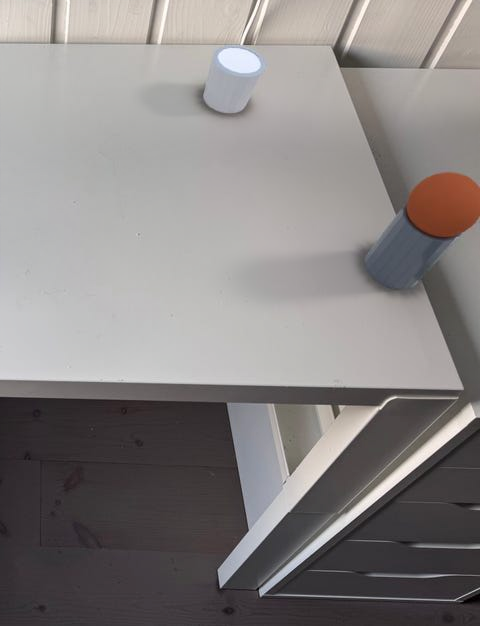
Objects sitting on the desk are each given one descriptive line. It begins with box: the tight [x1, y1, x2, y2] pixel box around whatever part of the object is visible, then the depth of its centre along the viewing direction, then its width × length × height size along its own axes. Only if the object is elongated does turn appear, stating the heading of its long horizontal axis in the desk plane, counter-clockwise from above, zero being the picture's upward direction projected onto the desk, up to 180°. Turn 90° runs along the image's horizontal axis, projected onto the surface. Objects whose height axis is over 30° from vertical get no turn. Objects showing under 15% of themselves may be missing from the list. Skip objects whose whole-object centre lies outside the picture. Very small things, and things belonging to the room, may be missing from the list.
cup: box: [363, 201, 463, 291], centre depth 73 cm, size 6×6×9 cm
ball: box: [406, 171, 480, 237], centre depth 67 cm, size 6×6×6 cm
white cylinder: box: [202, 44, 267, 114], centre depth 89 cm, size 7×7×7 cm
